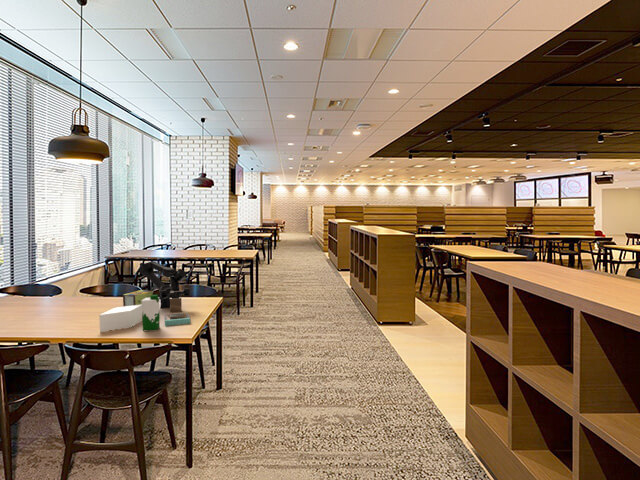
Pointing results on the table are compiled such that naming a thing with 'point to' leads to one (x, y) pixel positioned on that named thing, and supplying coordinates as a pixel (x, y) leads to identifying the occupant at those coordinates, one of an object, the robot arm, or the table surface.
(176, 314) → the wooden drawer
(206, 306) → the table surface
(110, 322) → the white block
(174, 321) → the bay
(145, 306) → the milk carton
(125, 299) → the protein box
